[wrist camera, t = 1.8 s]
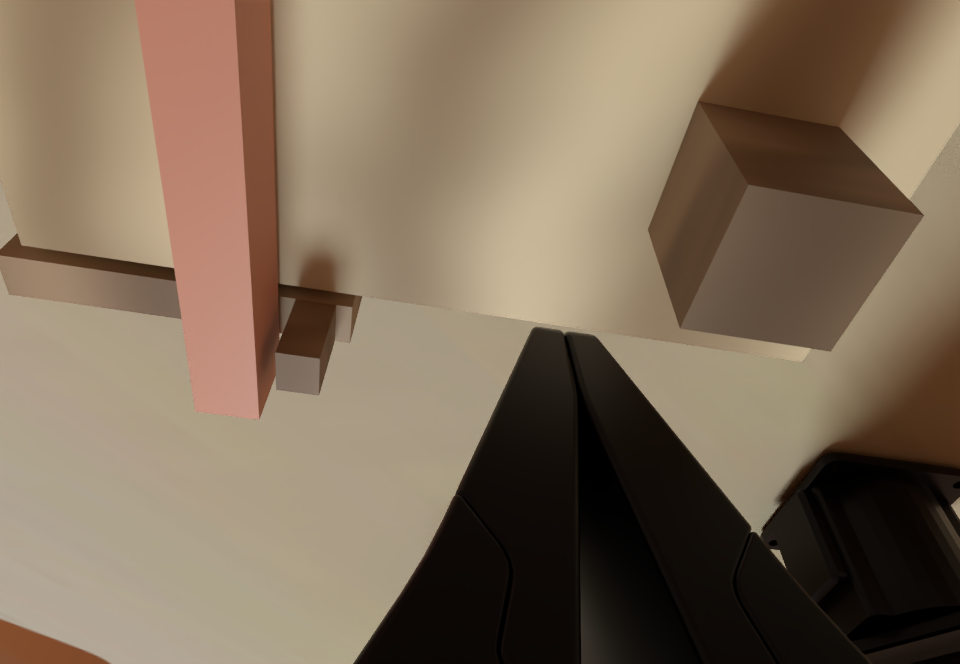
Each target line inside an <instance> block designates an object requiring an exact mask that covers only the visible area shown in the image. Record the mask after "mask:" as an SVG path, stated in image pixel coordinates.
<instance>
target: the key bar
mask: <svg viewBox="0 0 960 664" xmlns="http://www.w3.org/2000/svg"><path fill="white" fill-rule="evenodd" d="M134 1H135V8H136V14H137V21H138V28H139V35H140V41H141V48H142V55H143V62H144V68H145V75H146V82H147V89H148V95H149V102H150V109H151V116H152V122H153V129H154V136H155V142H156V149H157V156H158V163H159V169H160V176H161V183H162V190H163V196H164V203H165V210H166V217H167V223H168V230H169V237H170V244H171V250H172V257H173V264H174V270H175V277H176V284H177V291H178V297H179V304H180V311H181V318H182V324H183V331H184V338H185V345H186V351H187V358H188V365H189V372H190V378H191V385H192V392H193V398H194V405H195V411H196V412H204V413H212V414H219V415H227V416H235V417H243V418H250V419H258V420H259V419H260V416H261V414H262V411H263V408H264V405H265V403H266V400H267V397H268V395H269V392H270V389H271V387H272V384H273V381H274V378H275V376H276V364H275V352H276V349H277V346H278V344H279V306H278V270H277V233H276V197H275V160H274V124H273V88H272V51H271V15H270V0H134Z"/></svg>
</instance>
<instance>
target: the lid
mask: <svg viewBox="0 0 960 664" xmlns="http://www.w3.org/2000/svg"><path fill="white" fill-rule="evenodd" d="M270 15H271V51H272V88H273V124H274V160H275V197H276V233H277V270H278V284H284V285H291V286H298V287H304V288H311V289H318V290H325V291H331V292H338V293H345V294H351V295H358V296H365V297H371V298H378V299H385V300H392V301H398V302H405V303H412V304H418V305H425V306H432V307H438V308H445V309H452V310H459V311H465V312H472V313H479V314H485V315H492V316H499V317H505V318H512V319H519V320H526V321H532V322H539V323H546V324H552V325H559V326H566V327H573V328H579V329H586V330H593V331H599V332H606V333H613V334H619V335H626V336H633V337H640V338H646V339H653V340H660V341H666V342H673V343H680V344H686V345H693V346H700V347H707V348H713V349H720V350H727V351H733V352H740V353H747V354H754V355H760V356H767V357H774V358H780V359H787V360H794V361H800V362H803V360H804V359H805V357H806V356H807V354H808V352H809V351H810V349H818V350H825V351H831V350H832V349H833V347H834V346H835V344H836V343H837V341H838V340H839V338H840V337H841V335H842V334H843V333H844V331H845V330H846V328H847V327H848V325H849V324H850V322H851V321H852V319H853V318H854V317H855V315H856V314H857V312H858V311H859V309H860V308H861V306H862V305H863V304H864V302H865V301H866V299H867V298H868V296H869V295H870V293H871V292H872V290H873V289H874V288H875V286H876V285H877V283H878V282H879V280H880V279H881V277H882V276H883V274H884V273H885V272H886V270H887V269H888V267H889V266H890V264H891V263H892V261H893V260H894V258H895V257H896V256H897V254H898V253H899V251H900V250H901V248H902V247H903V245H904V244H905V242H906V241H907V240H908V238H909V237H910V235H911V234H912V232H913V231H914V229H915V228H916V226H917V225H918V224H919V222H920V221H921V219H922V218H923V216H924V215H923V214H922V213H921V212H920V211H919V210H918V209H917V207H916V206H915V205H914V204H913V203H912V202H911V201H910V200H909V199H910V198H911V196H912V195H913V193H914V192H915V190H916V189H917V187H918V186H919V184H920V183H921V181H922V180H923V178H924V177H925V175H926V174H927V172H928V171H929V169H930V168H931V166H932V165H933V163H934V162H935V160H936V158H937V157H938V155H939V154H940V152H941V151H942V149H943V148H944V146H945V145H946V143H947V142H948V140H949V139H950V137H951V136H952V134H953V133H954V131H955V130H956V128H957V127H958V125H959V124H960V0H270ZM0 180H1V183H2V186H3V189H4V192H5V195H6V198H7V202H8V205H9V208H10V211H11V214H12V217H13V220H14V224H15V227H16V230H17V233H18V236H19V239H20V242H21V245H23V246H30V247H36V248H43V249H50V250H56V251H63V252H70V253H76V254H83V255H90V256H97V257H103V258H110V259H117V260H123V261H130V262H137V263H143V264H150V265H157V266H164V267H170V268H174V264H173V257H172V250H171V244H170V237H169V230H168V223H167V217H166V210H165V203H164V196H163V190H162V183H161V176H160V169H159V163H158V156H157V149H156V142H155V136H154V129H153V122H152V116H151V109H150V102H149V95H148V89H147V82H146V75H145V68H144V62H143V55H142V48H141V41H140V35H139V28H138V21H137V14H136V8H135V1H134V0H0Z"/></svg>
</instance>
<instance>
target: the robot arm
mask: <svg viewBox="0 0 960 664" xmlns="http://www.w3.org/2000/svg"><path fill="white" fill-rule="evenodd" d="M959 497H960V469H953V468H946V467H939V466H931V465H924V464H917V463H909V462H902V461H895V460H887V459H880V458H873V457H865V456H858V455H851V454H843V453H830V454H827V455H825V456H823V457H822V458H821V459H820V460H819V461H818V462H817V464H816V465H815V466H814V467H813V469H812V470H811V471H810V473H809V474H808V475H807V476H806V478H805V479H804V480H803V481H802V483H801V484H800V485H799V487H798V488H797V489H796V490H795V492H794V493H793V494H792V495H791V497H790V498H789V499H788V501H787V502H786V503H785V504H784V506H783V507H782V508H781V510H780V511H779V512H778V513H777V515H776V516H775V517H774V518H773V520H772V521H771V522H770V524H769V525H768V526H767V527H766V529H765V530H764V531H763V533H762V534H761V536H760V537H761V538H760V537H759V535H758V534H757V533H756V532H751V526H750V525H749V523H748V522H747V521H746V520H745V519H744V517H743V516H742V515H741V514H740V512H739V511H738V510H737V509H736V508H735V506H734V505H733V504H732V503H731V501H730V500H729V499H728V498H727V497H726V495H725V494H724V493H723V492H722V490H721V489H720V488H719V487H718V485H717V484H716V483H715V482H714V481H713V479H712V478H711V477H710V476H709V474H708V473H707V472H706V471H705V470H704V468H703V467H702V466H701V465H700V463H699V462H698V461H697V460H696V458H695V457H694V456H693V455H692V454H691V452H690V451H689V450H688V449H687V447H686V446H685V445H684V444H683V443H682V441H681V440H680V439H679V438H678V436H677V435H676V434H675V433H674V432H673V430H672V429H671V428H670V427H669V425H668V424H667V423H666V422H665V420H664V419H663V418H662V417H661V416H660V414H659V413H658V412H657V411H656V409H655V408H654V407H653V406H652V405H651V403H650V402H649V401H648V400H647V398H646V397H645V396H644V395H643V394H642V392H641V391H640V390H639V389H638V387H637V386H636V385H635V384H634V382H633V381H632V380H631V379H630V378H629V376H628V375H627V374H626V373H625V371H624V370H623V369H622V368H621V367H620V365H619V364H618V363H617V362H616V360H615V359H614V358H613V357H612V356H611V354H610V353H609V352H608V351H607V349H606V348H605V347H604V346H603V344H602V343H601V342H600V341H599V340H598V339H597V338H596V337H595V336H593V335H590V334H583V333H576V332H566V333H565V334H564V333H563V332H562V331H560V330H556V329H549V328H543V327H534V328H533V329H532V331H531V332H530V335H529V337H528V339H527V341H526V343H525V345H524V347H523V350H522V352H521V354H520V356H519V358H518V360H517V362H516V365H515V367H514V369H513V371H512V373H511V375H510V377H509V380H508V382H507V384H506V386H505V388H504V390H503V392H502V395H501V397H500V399H499V401H498V403H497V405H496V407H495V410H494V412H493V414H492V416H491V418H490V420H489V422H488V425H487V427H486V429H485V431H484V433H483V435H482V437H481V440H480V442H479V444H478V446H477V448H476V450H475V452H474V455H473V457H472V459H471V461H470V463H469V465H468V467H467V470H466V472H465V474H464V476H463V478H462V480H461V482H460V485H459V487H458V489H457V491H456V494H455V496H454V497H453V499H452V501H451V503H450V505H449V507H448V509H447V512H446V514H445V516H444V518H443V520H442V522H441V524H440V526H439V528H438V530H437V532H436V534H435V536H434V538H433V540H432V541H431V543H430V545H429V547H428V549H427V551H426V553H425V555H424V557H423V558H422V560H421V562H420V563H419V565H418V566H417V568H416V570H415V571H414V573H413V574H412V576H411V578H410V579H409V581H408V582H407V584H406V586H405V587H404V589H403V590H402V592H401V594H400V595H399V597H398V598H397V600H396V601H395V603H394V604H393V606H392V607H391V609H390V610H389V611H388V613H387V614H386V616H385V617H384V619H383V620H382V622H381V623H380V625H379V626H378V628H377V629H376V631H375V632H374V634H373V635H372V637H371V638H370V640H369V641H368V643H367V644H366V646H365V647H364V648H363V650H362V651H361V653H360V654H359V656H358V657H357V659H356V660H355V662H354V663H353V664H960V520H959V518H958V516H957V515H956V513H955V511H954V510H953V508H952V507H951V504H952V503H954V502H955V501H956V500H957V499H958V498H959ZM750 532H751V533H750ZM770 549H775V550H780V552H781V555H782V557H783V560H784V563H785V566H786V568H785V567H784V566H783V564H782V563H781V562H780V561H779V560H778V559H777V557H776V556H775V555H774V554H773V553H772V551H771V550H770Z"/></svg>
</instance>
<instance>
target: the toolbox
mask: <svg viewBox="0 0 960 664" xmlns="http://www.w3.org/2000/svg"><path fill="white" fill-rule="evenodd" d="M0 270H1V273H2V276H3V278H4V281H5V284H6V287H7V290H8V293H9V294H10V295H17V296H24V297H31V298H39V299H46V300H53V301H60V302H67V303H74V304H81V305H88V306H95V307H102V308H109V309H116V310H123V311H130V312H137V313H144V314H151V315H158V316H165V317H172V318H179V319H182V318H181V311H180V304H179V297H178V291H177V284H176V277H175V270H174V268H170V267H164V266H157V265H150V264H143V263H137V262H130V261H123V260H117V259H110V258H103V257H97V256H90V255H83V254H76V253H70V252H63V251H56V250H50V249H43V248H36V247H30V246H23V245H21V242H20V239H19V236H18V233H17V234H16V235H15V236H14V237H13V238H12V239H11V240H10V241H9V242H8V243H7V244H6V245H5V246H4V247H3V248H2V249H1V250H0ZM361 299H362V296H358V295H351V294H345V293H338V292H331V291H325V290H318V289H311V288H304V287H298V286H291V285H284V284H278V306H279V333H282V336H281V339H280V341H279V344H278V346H277V349H276V352H275V364H276V390H283V391H290V392H297V393H305V394H312V395H319V393H320V390H321V386H322V383H323V379H324V376H325V372H326V369H327V365H328V362H329V358H330V355H331V352H332V348H333V345H334V341H340V342H347V343H350V341H351V337H352V333H353V329H354V325H355V322H356V318H357V314H358V310H359V306H360V302H361Z"/></svg>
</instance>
